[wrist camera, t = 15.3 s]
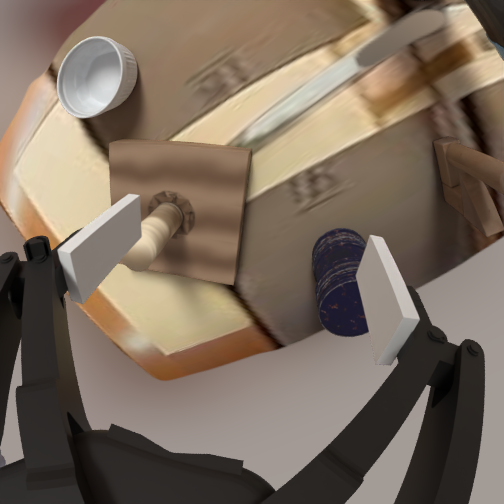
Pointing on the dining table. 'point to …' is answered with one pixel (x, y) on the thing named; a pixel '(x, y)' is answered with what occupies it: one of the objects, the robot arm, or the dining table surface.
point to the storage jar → (339, 282)
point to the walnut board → (188, 200)
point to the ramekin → (96, 77)
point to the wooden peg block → (470, 183)
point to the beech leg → (154, 235)
